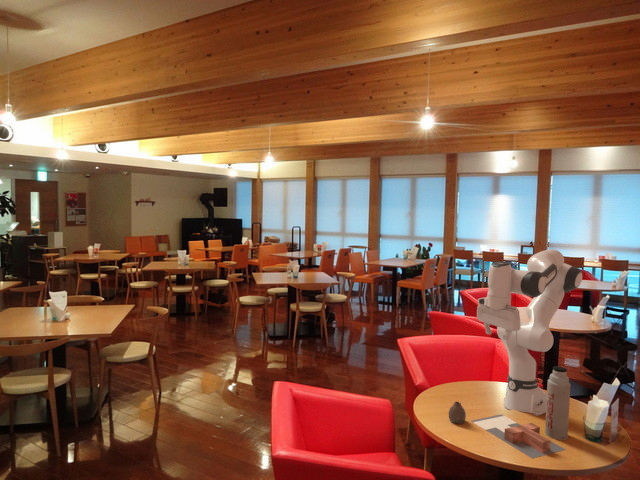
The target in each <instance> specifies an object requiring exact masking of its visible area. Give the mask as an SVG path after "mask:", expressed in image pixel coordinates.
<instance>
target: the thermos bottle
mask: <svg viewBox="0 0 640 480" xmlns="http://www.w3.org/2000/svg"><path fill="white" fill-rule="evenodd" d="M567 372H568V369H567V368H566V367H563V366H559V365H558V366H557V365H556V366H555V365H554V366H553V367H552V373H550V374H549V378H548V379H547V384H546V385H547V387H546V393H547V410H546V413H545V422H544V423H545V424H544V425H545V427H544V433H545V435H546V436H547V437H548V438H550V439H553V440H558V441H559V440H560V441H564V440H567V439H568V437H569V420H570V419H569V417H570V416H569V415H570V401H571V400H570V399H571V386H572V385H571V382H570V378H569V376H568V375H567V374H568V373H567Z"/></svg>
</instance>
